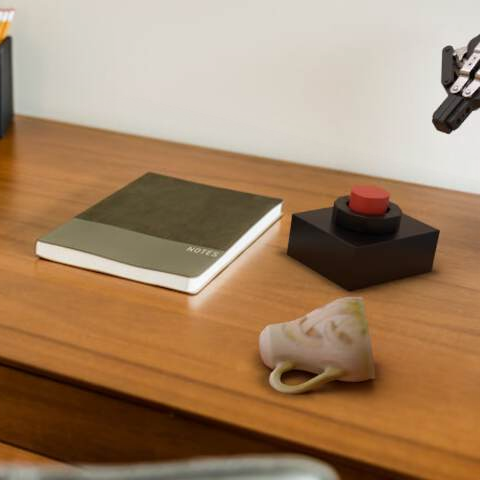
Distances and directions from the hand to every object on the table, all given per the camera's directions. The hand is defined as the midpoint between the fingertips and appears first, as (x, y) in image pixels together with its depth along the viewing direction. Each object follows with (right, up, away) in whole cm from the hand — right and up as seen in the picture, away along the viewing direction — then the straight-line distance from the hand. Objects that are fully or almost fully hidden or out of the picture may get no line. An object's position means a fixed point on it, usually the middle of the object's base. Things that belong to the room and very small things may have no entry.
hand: (439, 127), depth 97 cm
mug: (-18, -24, -19) cm, 36 cm away
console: (-8, -15, +2) cm, 17 cm away
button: (-8, -9, -1) cm, 12 cm away
